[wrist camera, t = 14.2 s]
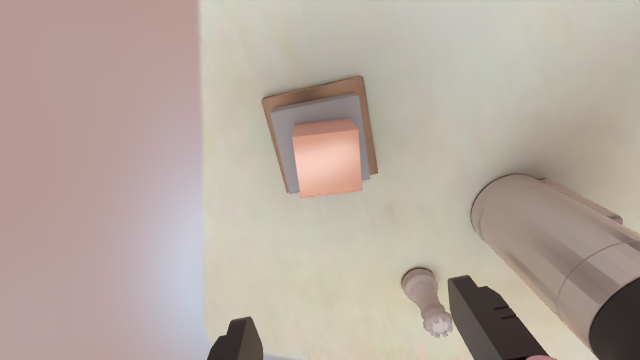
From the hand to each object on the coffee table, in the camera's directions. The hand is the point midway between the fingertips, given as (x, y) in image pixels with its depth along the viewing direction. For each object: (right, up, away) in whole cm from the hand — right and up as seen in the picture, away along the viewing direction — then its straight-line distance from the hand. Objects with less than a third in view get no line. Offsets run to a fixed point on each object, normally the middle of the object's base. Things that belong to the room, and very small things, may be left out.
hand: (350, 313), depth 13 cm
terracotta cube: (-1, +8, +16) cm, 18 cm away
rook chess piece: (+12, -8, +29) cm, 32 cm away
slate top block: (-1, +10, +19) cm, 21 cm away
